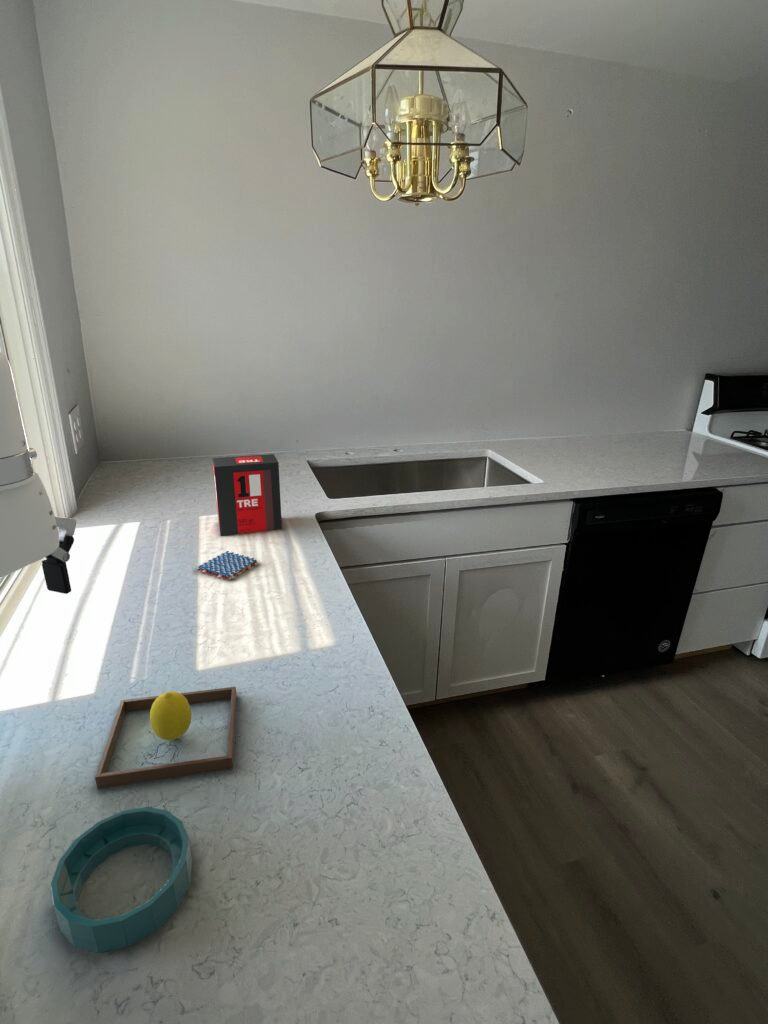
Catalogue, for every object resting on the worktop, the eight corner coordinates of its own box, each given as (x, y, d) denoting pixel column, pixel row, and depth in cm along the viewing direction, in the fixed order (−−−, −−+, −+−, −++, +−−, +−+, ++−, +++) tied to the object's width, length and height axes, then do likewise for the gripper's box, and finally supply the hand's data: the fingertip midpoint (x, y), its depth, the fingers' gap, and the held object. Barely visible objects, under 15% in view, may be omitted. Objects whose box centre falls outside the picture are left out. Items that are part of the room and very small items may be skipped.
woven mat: (194, 573, 130) (194, 566, 130) (226, 556, 139) (225, 549, 138) (229, 584, 126) (228, 576, 125) (259, 566, 135) (258, 558, 134)
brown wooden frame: (97, 792, 73) (94, 777, 72) (123, 713, 87) (120, 700, 86) (233, 772, 76) (231, 757, 75) (237, 699, 90) (235, 686, 89)
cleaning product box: (220, 538, 150) (213, 466, 143) (219, 526, 158) (212, 458, 151) (282, 531, 155) (278, 462, 148) (277, 520, 163) (273, 454, 156)
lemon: (145, 746, 80) (137, 701, 77) (171, 720, 84) (165, 677, 82) (177, 756, 78) (170, 711, 75) (202, 730, 83) (196, 686, 80)
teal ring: (41, 969, 54) (31, 938, 52) (80, 845, 66) (73, 817, 64) (184, 939, 56) (179, 909, 55) (197, 826, 68) (193, 799, 67)
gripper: (34, 447, 68) (61, 573, 74) (-126, 490, 52) (-75, 645, 58) (83, 453, 65) (107, 582, 71) (-68, 499, 50) (-22, 659, 56)
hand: (25, 610), depth 65 cm, fingers open, 9 cm apart
